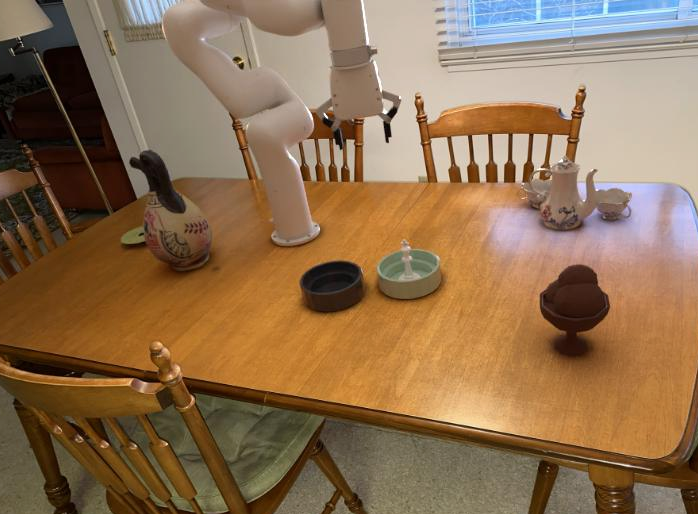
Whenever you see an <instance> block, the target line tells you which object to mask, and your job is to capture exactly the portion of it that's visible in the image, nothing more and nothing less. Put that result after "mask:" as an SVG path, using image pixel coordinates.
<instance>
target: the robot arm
mask: <svg viewBox="0 0 698 514" xmlns="http://www.w3.org/2000/svg"><path fill="white" fill-rule="evenodd" d="M364 7H365V6H364V1H363V0H181V1H178V2H176V3H174V4H172V5H170V6H169V7H167V9H166V10H165V11H164V13H163V14H162V18H161V27H162V32H163V35H164V38H165V40H166V43H167V45H168V47H169V48H170V50H171V52H172V53H173V54H174V55H175V57H176V58H177V59H178V60H179V61H180V63H182V64H183V65H184V66H185V67H186V68H188V69H189V70H190V71H191V72H192V73H193V74H194V75H195V76H196V77H197V78H198V79H199V80H200V81H201V82H202V83H203V84H204V85H205V87H206V88H207V90H209V91H210V92H211V94H212V95H213V96H214V97H215V98H216V99H217V101H218V102H219V103H220V104H221V105H222V106H223V107H224V109H225V110H226V111H227V112H228V113H229V114H230V115H231V116H232V117H233V118H235V119H239V120H243V119H247V118H250V117H253V116H254V117H253V118H252V119H250V120H249V121H248V123H247V125H246V128H245V139H246V143H247V144H248V147H249V149H250V151H251V152H252V155H253V157H254V160H255V162H256V164H257V167H258V171H259V175H260V178H261V180H262V184H263V188H264V191H265V195H266V198H267V202H268V206H269V209H270V214H271V218H270V219H269V220H268V222H269V223H270V224H272V225H273V227H274V230H273V232H272V233H271V240H272V242H273V243H274V244H275V245H278V246H280V247H294V246H299V245H300V246H301V245H303V244H307V243H309V242H311V241H313V240H315V238H316V237H318V236H319V234H320V232H321V229H320V225H319V224H318V222H315V221H313V220H312V219H313V218H312V215H311V211H310V207H309V202H308V198H307V193H306V189H305V185H304V180H303V176H302V172H301V169H300V165H299V163H298V161H297V160H296V159H295V158H294V157H293V156H292V155H291V153H290V152H289V150H290V148H292V147H293V146H295V145H298V144H299V143H301V142H303V141H305V140H306V139H308V138H309V137H310V136H312V133H313V132H314V128H315V123H314V118H313V115H312V113H311V111H310V110H309V108H308V107H307V106H306V104H305V103H304V102H303V100H302V99H301V98H300V97H299V96H298V94H297V93H296V92H295V91H294V90H293V89H292V87H290V85H289V84H288V83H287V81H286V80H285V79H284V78H283V77H282V76H281V75H280V74H279V73H278V72H277V71H275V70H274V69H272V68H270V67H267V66H257V67H254V68H251V69H249V70H242V69H241V68H240V67H239V66H238V65H237V64H236V63H235V61H233V59H232V58H231V57H230V56H229V55H228V54H227V53H225V52H224V51H223V50H221V49H220V48H218V47H216V46H214V45H212V44H209V43H208V42H206V41H207V40H212V39H214V38H218V37H221V36H225V35H228V34H230V33H232V32H233V31H235V30H236V29H237V28H238V27H239V26H240V24H241V23H242V22H243V20H244V19H245V18H247V19H248V20H249V21H250V23H251V24H252V25H253V26H254V27H255V28H256V29H258V30H259V31H262V32H265V33H269V34H272V35H277V36H282V37H297V36H301V35H304V34H306V33H309V32H313V31H317V30H319V29H323V28H325V32H326V38H327V43H328V49H329V56H330V61H331V65H330V66H329V67H328V78H329V89H330V90H329V91H330V97H329V99H327V100H326V101H325V102H323V103H322V104H321V105H319V106H318V107H317V108H316V109H315V114H316V116H317V117H318V118H319V120H321V122H322V124H323V125H324V126H326V127H328V128H329V129H330V130H331V131H332V132H333V137H334V143H335V146H338V148H339V151H342V150H344V140H343V134H342V128H341V127H340V125H341V123H342V122H343V121H349V120H357V119H365V118H369V117H371V118H372V117H377V116H378V117H379V118H380V119H382V120H383V121H382V125H383V126H382V127H383V132H384V141H385V143H386V144H389V143H390V138H392V137H393V135H392V127H391V122H392V120H394V118H395V116H396V115H397V113H398V111H399V108H400V105H401V103H402V97H401V96H400V95H398V94H394V93H392V92H389V91H386V90H383V88H382V84H381V77H380V73H379V70H378V66H377V63H376V60H375V59H372V57H373V56H374V55H378V47H377V46H376V45H375V46H374V45H373V46H371V45H370V43H369V35H368V27H367V22H366V15H365V14H366V13H365V8H364ZM384 100H387V101H389V102H392V105H391V107H390V109H389V110H388V111H387V110H386V109H385V105H384ZM331 108H332V111H333V115H334V118H333V119H331V118H330V117H328V116H327V113H325V112H326V111H328V110H330V109H331Z"/></svg>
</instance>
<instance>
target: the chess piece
mask: <svg viewBox="0 0 698 514" xmlns="http://www.w3.org/2000/svg"><path fill="white" fill-rule="evenodd" d="M409 245H410V242H409V241H407V240H406V239H405V238H403V241H401V242H400V246H402V247H401V248H400V250H401V252H402V253H403V255H404V257H402V261H404V262H405V274H403V275H401V276H400V277H399V279H398V280H412V279H416V278H420V275H419V274H417V273H413V272H412V269H411V265H410V261H411V260H412V257H411V256H409V254H410V249H412V248H411V247H410V246H409Z"/></svg>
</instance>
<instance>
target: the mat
mask: <svg viewBox="0 0 698 514" xmlns="http://www.w3.org/2000/svg"><path fill="white" fill-rule="evenodd" d="M120 242H121V243H122V244H125V245H132V244H134V245H135V244H140V243H142V242H143V243H144V242H146V240H145V237H144V228H143V225H140V226H137V227H135V228H133V229H131V230H129V231H127V232H125V234H123V235H122V236H121V238H120Z"/></svg>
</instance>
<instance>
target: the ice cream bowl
mask: <svg viewBox="0 0 698 514" xmlns="http://www.w3.org/2000/svg"><path fill="white" fill-rule="evenodd" d="M539 309H540V313H541V315H542V317H543V319H544V320H546V321H547V322H548V323H549V324H551V326H553V327H554V328H555V329H557V330H559V331H561V332H565V334H560V335H559V336H558V337H557V338H555V339H554V342H553V345H554V349H555V350H556V352H558V353H559V354H560V355H563V356H568V357H576V356H583V354H584V353H586V352H587V351H588V343H587V340H586V339H584V338H583V336H581V335H578V333H583V332H588V331H591V330H593V329H595V327H597V326H598V325H599V324H600V323H601V322H603V321H604V320H605V318H606V317H607V316H608V314H609V312H610V309H611V303H610V297H609V294H608V293H606V292H605V291H603V290H602V288H601V287H600V286H599V279H598V274H597V272H596V271H595V270H594V268H592V267H590V266H589V265H585V264H581V263H578V264H577V263H576V264H571V265H569V266H567V267H566V268H564V269H563V270H562V271H561V272H560V273H559V274H558V276H557V279H554V280H553V281H552V282H550V283H549V284H548V286H547V287H546V289H544V290H543V291H541V292H540V293H539Z"/></svg>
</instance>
